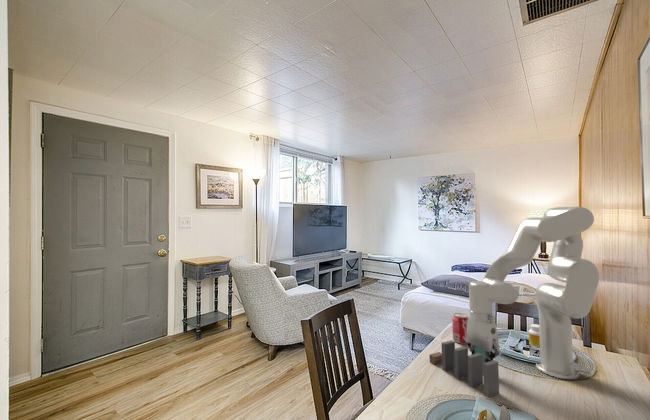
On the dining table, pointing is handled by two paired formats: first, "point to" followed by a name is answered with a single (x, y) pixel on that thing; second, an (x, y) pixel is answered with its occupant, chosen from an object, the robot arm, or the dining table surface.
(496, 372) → the domino
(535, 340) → the supplement bottle
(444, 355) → the domino
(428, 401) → the dining table surface
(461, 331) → the soda can
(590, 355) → the dining table surface
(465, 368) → the domino
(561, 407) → the dining table surface
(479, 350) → the teal domino
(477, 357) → the domino
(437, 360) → the end block
